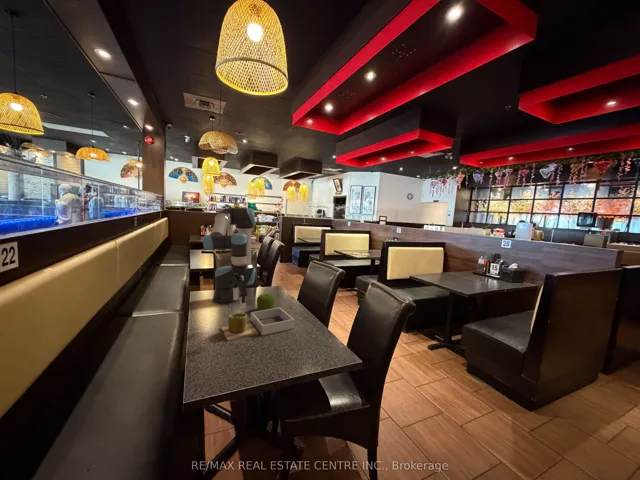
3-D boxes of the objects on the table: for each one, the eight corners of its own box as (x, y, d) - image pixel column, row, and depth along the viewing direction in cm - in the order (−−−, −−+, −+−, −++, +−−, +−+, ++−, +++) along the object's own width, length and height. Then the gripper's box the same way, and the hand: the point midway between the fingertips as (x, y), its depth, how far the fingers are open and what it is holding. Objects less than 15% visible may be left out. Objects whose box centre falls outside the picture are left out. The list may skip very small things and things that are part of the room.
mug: (243, 333, 126) (239, 312, 127) (225, 336, 128) (222, 316, 130) (255, 327, 138) (252, 308, 139) (239, 330, 140) (236, 312, 142)
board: (221, 328, 137) (221, 326, 136) (249, 323, 145) (249, 320, 144) (227, 341, 124) (227, 338, 124) (257, 334, 132) (257, 332, 132)
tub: (250, 320, 147) (250, 312, 147) (279, 315, 157) (279, 307, 156) (262, 335, 131) (262, 326, 130) (294, 328, 140) (294, 319, 139)
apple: (273, 306, 170) (273, 290, 169) (275, 312, 160) (276, 295, 159) (256, 308, 167) (256, 291, 166) (257, 314, 157) (257, 297, 155)
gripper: (226, 259, 139) (226, 297, 141) (237, 270, 118) (238, 314, 120) (240, 258, 143) (240, 295, 145) (253, 268, 122) (253, 311, 124)
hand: (239, 303), depth 133 cm, fingers open, 13 cm apart
